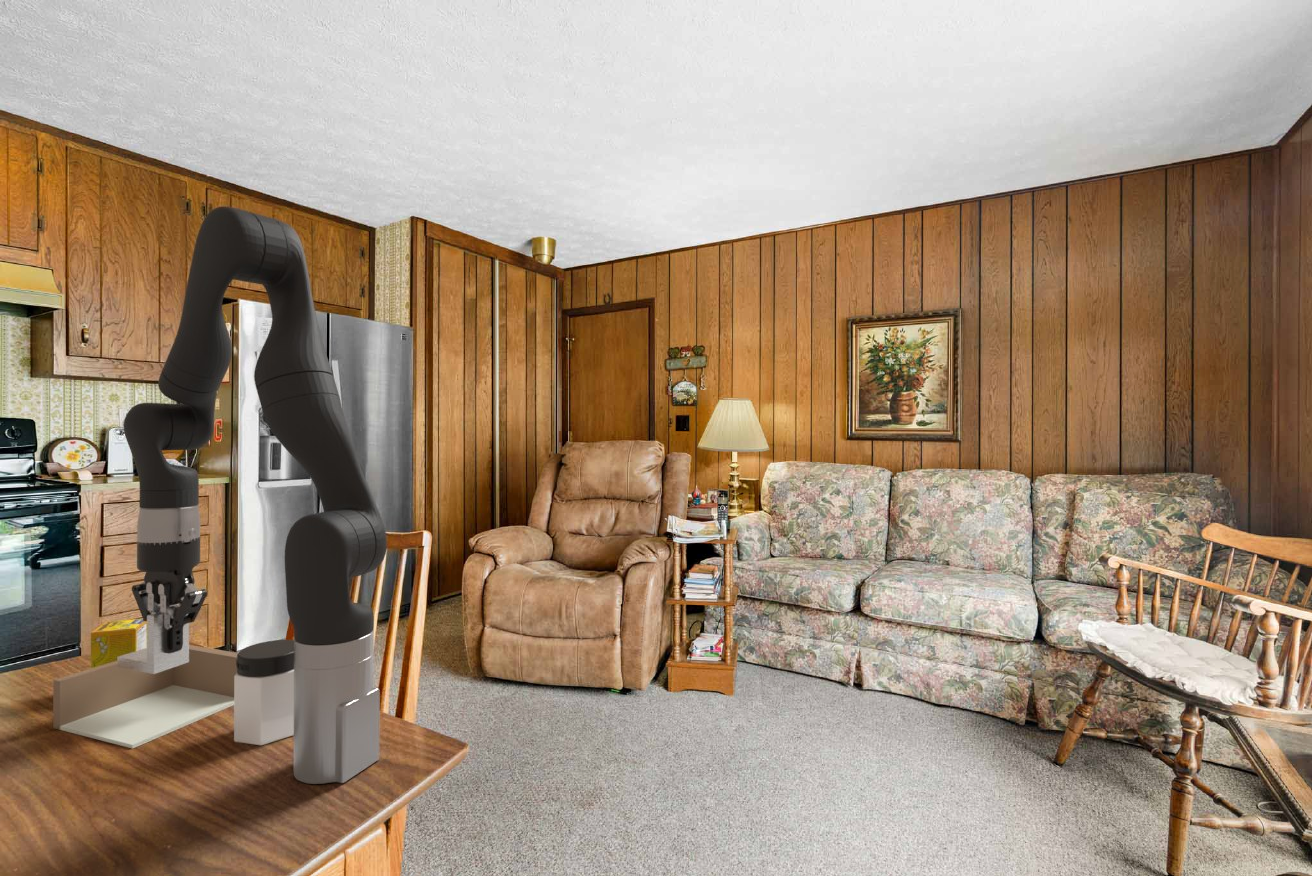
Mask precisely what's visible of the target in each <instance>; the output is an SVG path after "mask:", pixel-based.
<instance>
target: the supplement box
mask: <svg viewBox="0 0 1312 876" xmlns="http://www.w3.org/2000/svg"><path fill="white" fill-rule="evenodd" d="M145 648H147V621H144V620H143V617H141V618H133V619H126V620H124V619H122V620H112V621H105V622H103V623H102V624H101V625H99V626H98V627H97V628H95V629H94V630H92V631H91V632H90V669H91V668H95V667H98V666H101V665H104V664H108V663H111V662H114V661H117V657H119V656H122V655H125V654H129V653H132V652H135V651H138V650H142V649H145Z"/></svg>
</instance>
